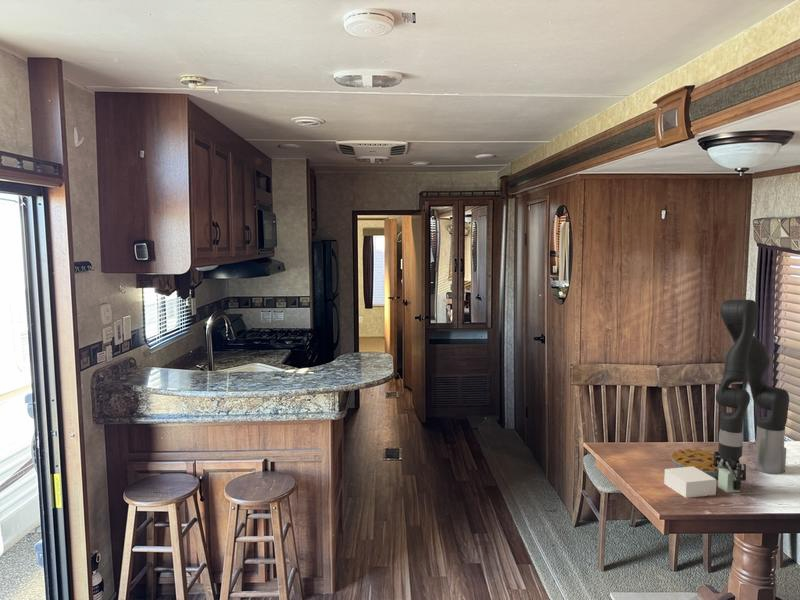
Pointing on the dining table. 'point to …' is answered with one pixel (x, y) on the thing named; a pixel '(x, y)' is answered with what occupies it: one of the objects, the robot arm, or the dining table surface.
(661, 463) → the dining table surface
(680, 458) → the pie
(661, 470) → the dining table surface
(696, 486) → the base box
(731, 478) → the sage block
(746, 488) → the dining table surface
